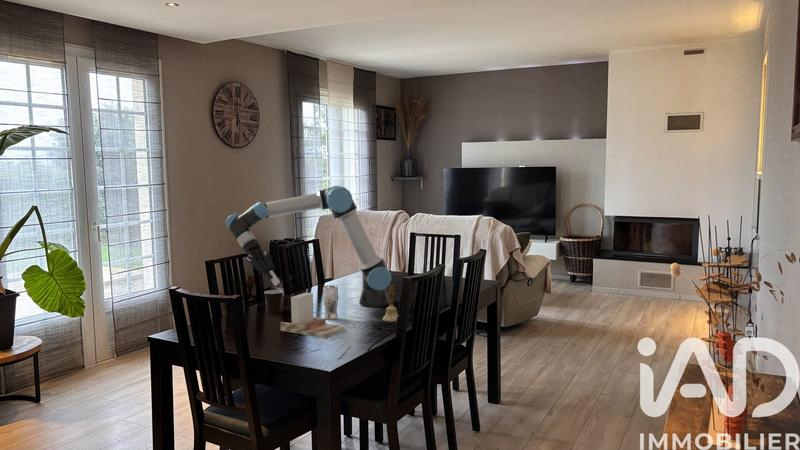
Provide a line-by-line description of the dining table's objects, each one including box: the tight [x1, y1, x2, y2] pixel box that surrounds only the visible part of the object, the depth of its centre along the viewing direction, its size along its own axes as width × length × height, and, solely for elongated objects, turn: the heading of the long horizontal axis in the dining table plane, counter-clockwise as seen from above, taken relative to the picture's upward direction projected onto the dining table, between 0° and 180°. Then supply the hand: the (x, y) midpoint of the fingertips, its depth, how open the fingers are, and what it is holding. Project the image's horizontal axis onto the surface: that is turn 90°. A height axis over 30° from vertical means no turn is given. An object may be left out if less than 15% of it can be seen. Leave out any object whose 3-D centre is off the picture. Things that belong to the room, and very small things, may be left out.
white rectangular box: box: [290, 292, 315, 325], centre depth 260 cm, size 5×10×13 cm, turn 150°
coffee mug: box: [264, 289, 283, 315], centre depth 291 cm, size 12×9×10 cm
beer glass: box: [322, 284, 339, 321], centre depth 276 cm, size 7×7×15 cm
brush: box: [381, 284, 399, 323], centre depth 273 cm, size 8×8×16 cm
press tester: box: [279, 316, 346, 339], centre depth 258 cm, size 24×14×4 cm, turn 60°
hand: (277, 283), depth 267 cm, fingers closed
